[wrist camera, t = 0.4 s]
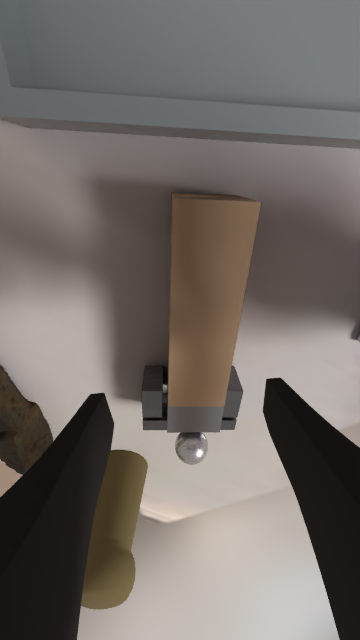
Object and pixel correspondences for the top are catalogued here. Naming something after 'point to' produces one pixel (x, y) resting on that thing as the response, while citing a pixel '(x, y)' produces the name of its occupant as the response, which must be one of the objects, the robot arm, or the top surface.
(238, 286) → the strut
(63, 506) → the robot arm
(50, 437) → the hand tool
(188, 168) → the top surface
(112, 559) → the olive bottle
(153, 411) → the stud bracket
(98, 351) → the top surface
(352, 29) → the tray
